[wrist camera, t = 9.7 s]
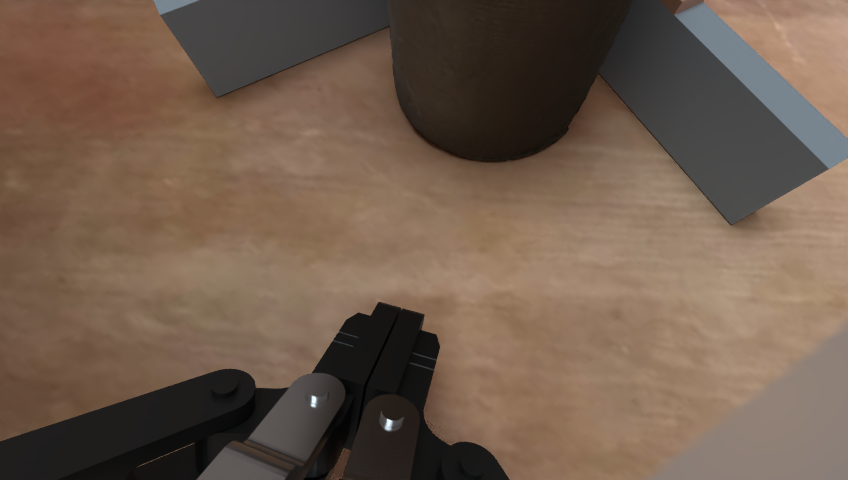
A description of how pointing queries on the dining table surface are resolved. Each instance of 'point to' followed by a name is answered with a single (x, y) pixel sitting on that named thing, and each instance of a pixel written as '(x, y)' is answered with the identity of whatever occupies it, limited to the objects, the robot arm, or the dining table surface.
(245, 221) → the dining table surface
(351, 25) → the corner arena
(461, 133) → the pillar candle
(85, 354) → the dining table surface
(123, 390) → the dining table surface
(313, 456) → the robot arm
